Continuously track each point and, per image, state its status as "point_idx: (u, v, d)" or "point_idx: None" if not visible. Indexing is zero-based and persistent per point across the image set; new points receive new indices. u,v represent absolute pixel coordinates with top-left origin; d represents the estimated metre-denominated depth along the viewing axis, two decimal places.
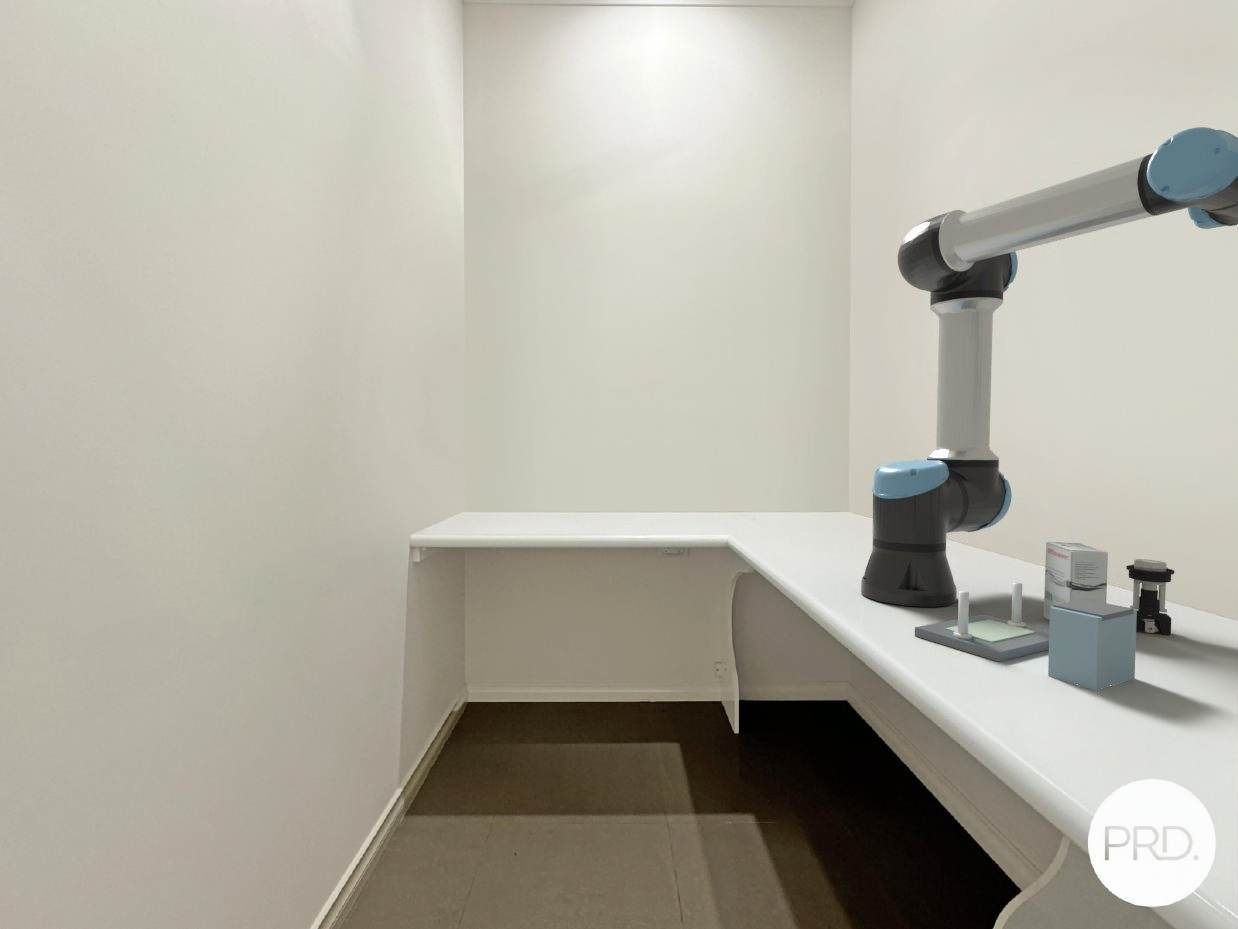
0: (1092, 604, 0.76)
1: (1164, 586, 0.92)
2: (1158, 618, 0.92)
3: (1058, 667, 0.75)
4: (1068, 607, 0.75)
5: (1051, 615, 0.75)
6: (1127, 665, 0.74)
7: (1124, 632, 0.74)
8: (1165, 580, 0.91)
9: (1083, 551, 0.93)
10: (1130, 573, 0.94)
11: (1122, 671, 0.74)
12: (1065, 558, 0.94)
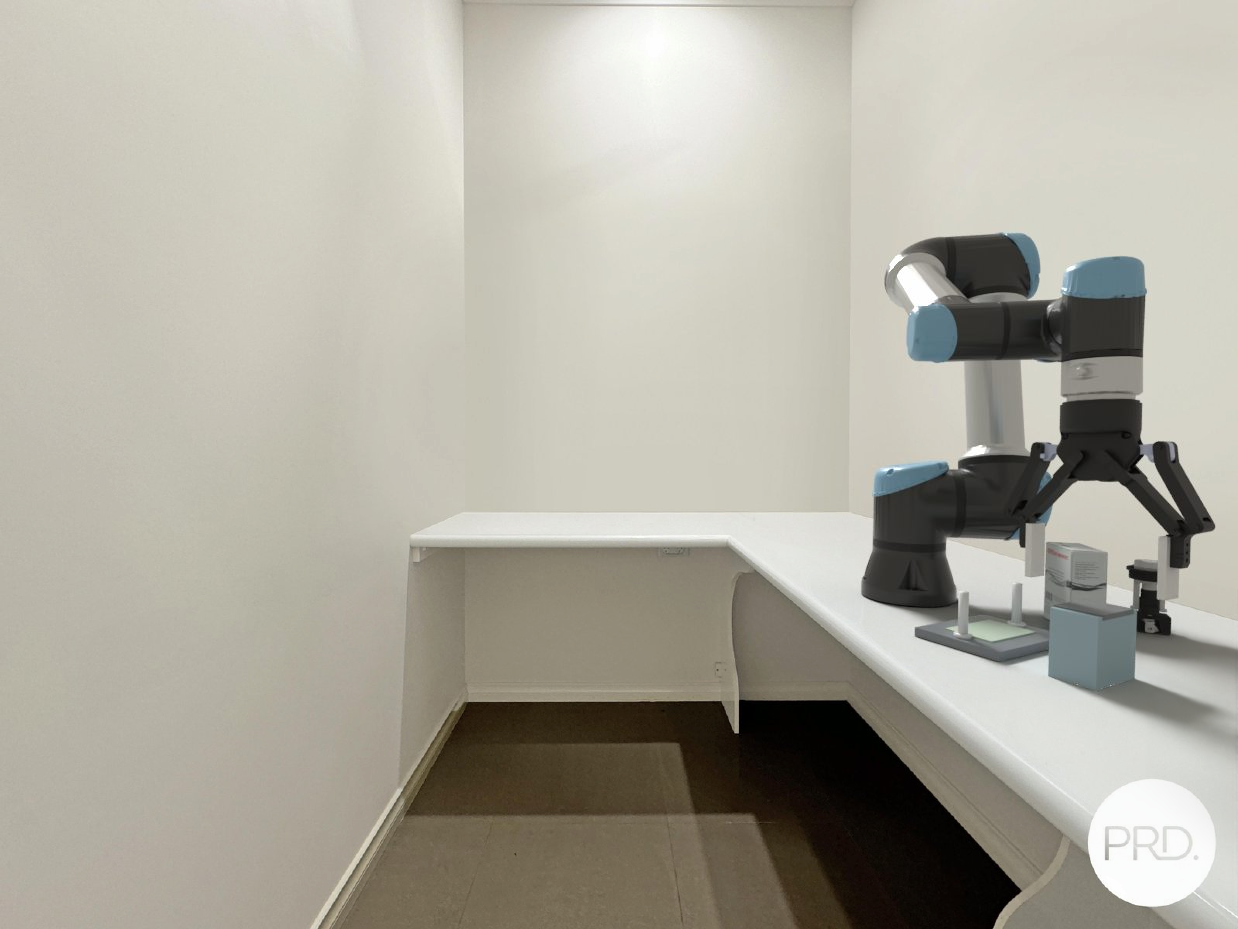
0: (1092, 604, 0.76)
1: None
2: (1158, 618, 0.92)
3: (1058, 667, 0.75)
4: (1068, 607, 0.75)
5: (1051, 615, 0.75)
6: (1127, 665, 0.74)
7: (1124, 632, 0.74)
8: None
9: (1083, 551, 0.93)
10: (1130, 573, 0.94)
11: (1122, 671, 0.74)
12: (1065, 558, 0.94)
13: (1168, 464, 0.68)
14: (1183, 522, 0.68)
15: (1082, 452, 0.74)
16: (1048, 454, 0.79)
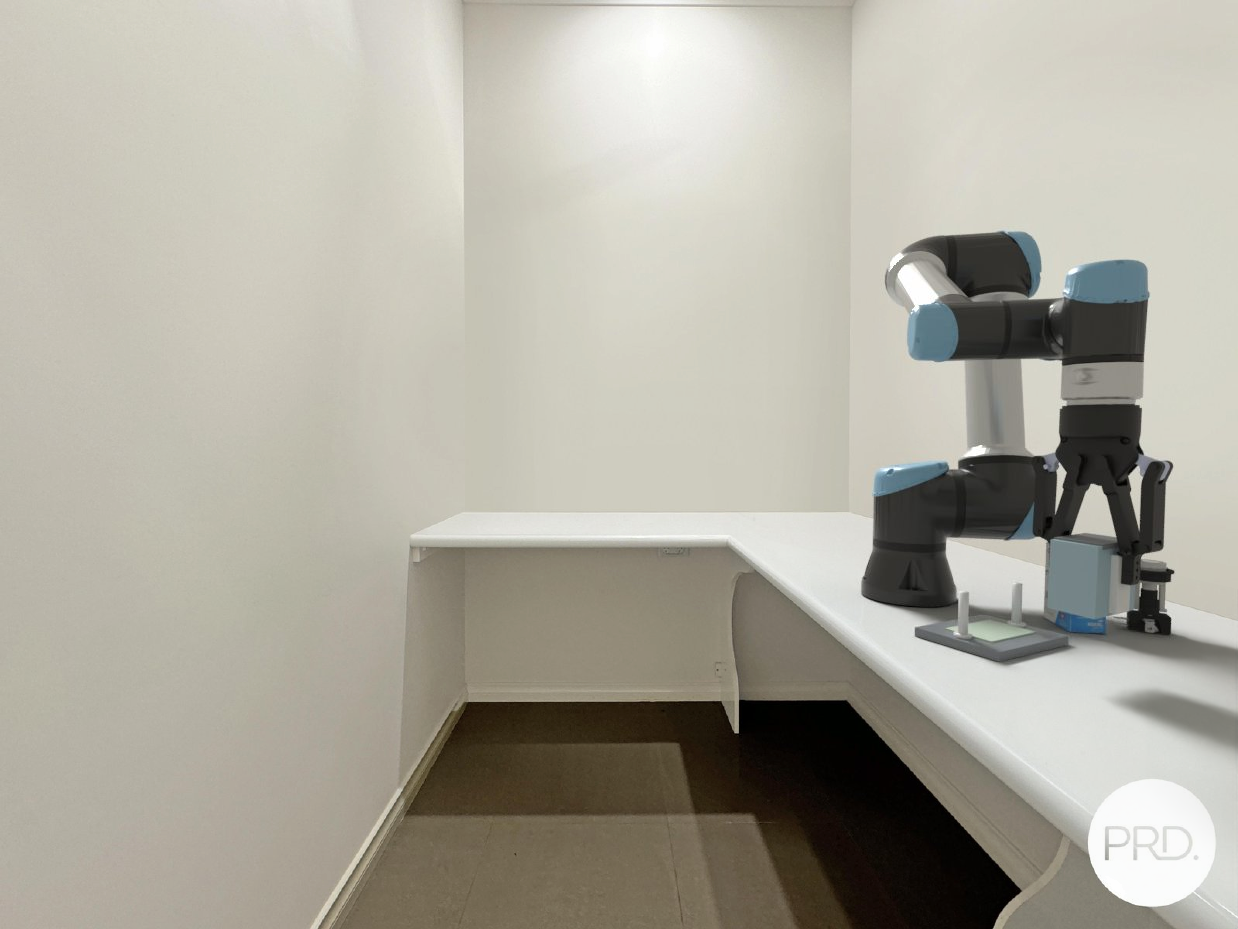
0: (1093, 536, 0.76)
1: (1164, 586, 0.92)
2: (1158, 618, 0.92)
3: (1057, 598, 0.75)
4: (1068, 538, 0.75)
5: (1051, 547, 0.76)
6: None
7: None
8: (1165, 580, 0.91)
9: None
10: None
11: None
12: None
13: (1153, 485, 0.69)
14: (1135, 541, 0.72)
15: (1079, 454, 0.75)
16: (1050, 464, 0.79)
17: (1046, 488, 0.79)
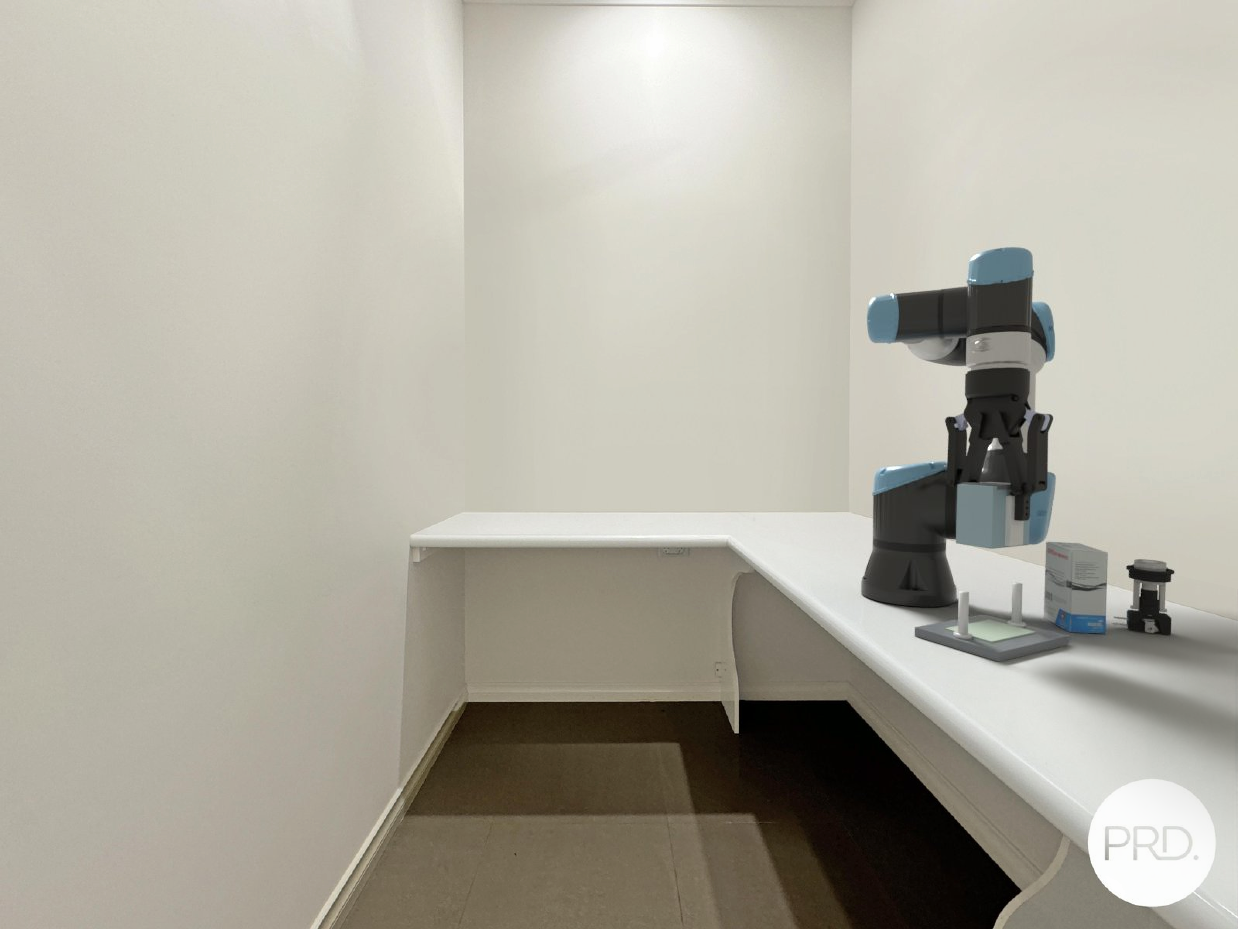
0: None
1: (1164, 586, 0.92)
2: (1158, 618, 0.92)
3: (963, 534, 0.88)
4: (972, 483, 0.88)
5: (958, 490, 0.89)
6: None
7: None
8: (1165, 580, 0.91)
9: (1083, 551, 0.93)
10: (1130, 573, 0.94)
11: None
12: (1065, 558, 0.94)
13: (1036, 434, 0.82)
14: (1025, 484, 0.85)
15: (981, 412, 0.88)
16: (960, 423, 0.92)
17: (957, 444, 0.92)
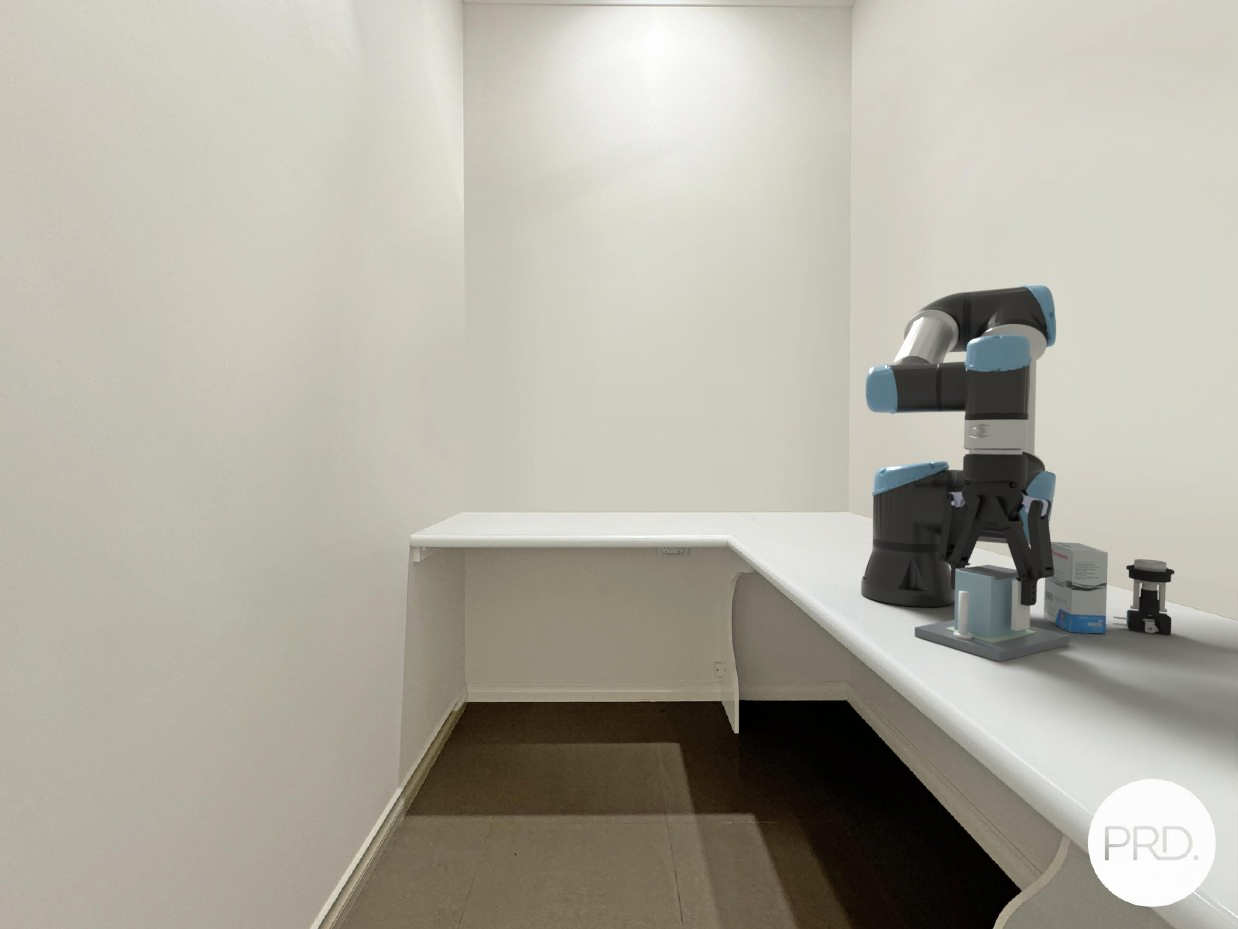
0: (992, 568, 0.90)
1: (1164, 586, 0.92)
2: (1158, 618, 0.92)
3: None
4: (970, 570, 0.89)
5: (956, 577, 0.89)
6: None
7: None
8: (1165, 580, 0.91)
9: (1083, 551, 0.93)
10: (1130, 573, 0.94)
11: None
12: (1065, 558, 0.94)
13: (1036, 520, 0.82)
14: (1032, 568, 0.85)
15: (979, 496, 0.89)
16: (957, 501, 0.93)
17: (952, 521, 0.93)
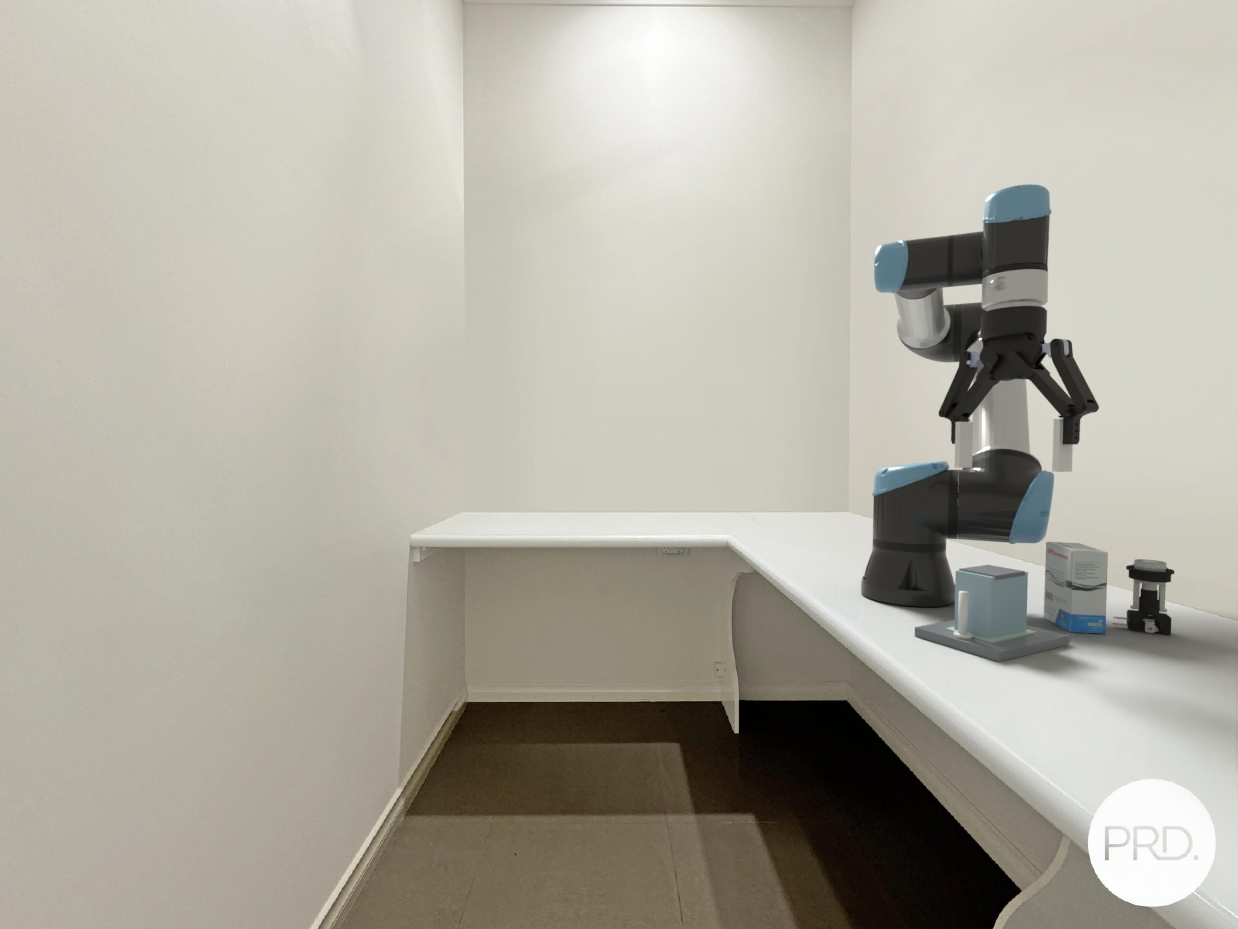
0: (992, 568, 0.90)
1: (1164, 586, 0.92)
2: (1158, 618, 0.92)
3: None
4: (970, 570, 0.89)
5: (956, 577, 0.89)
6: (1019, 619, 0.88)
7: (1016, 590, 0.88)
8: (1165, 580, 0.91)
9: (1083, 551, 0.93)
10: (1130, 573, 0.94)
11: (1014, 623, 0.88)
12: (1065, 558, 0.94)
13: (1061, 357, 0.80)
14: None
15: (998, 354, 0.87)
16: (973, 361, 0.92)
17: (962, 380, 0.93)
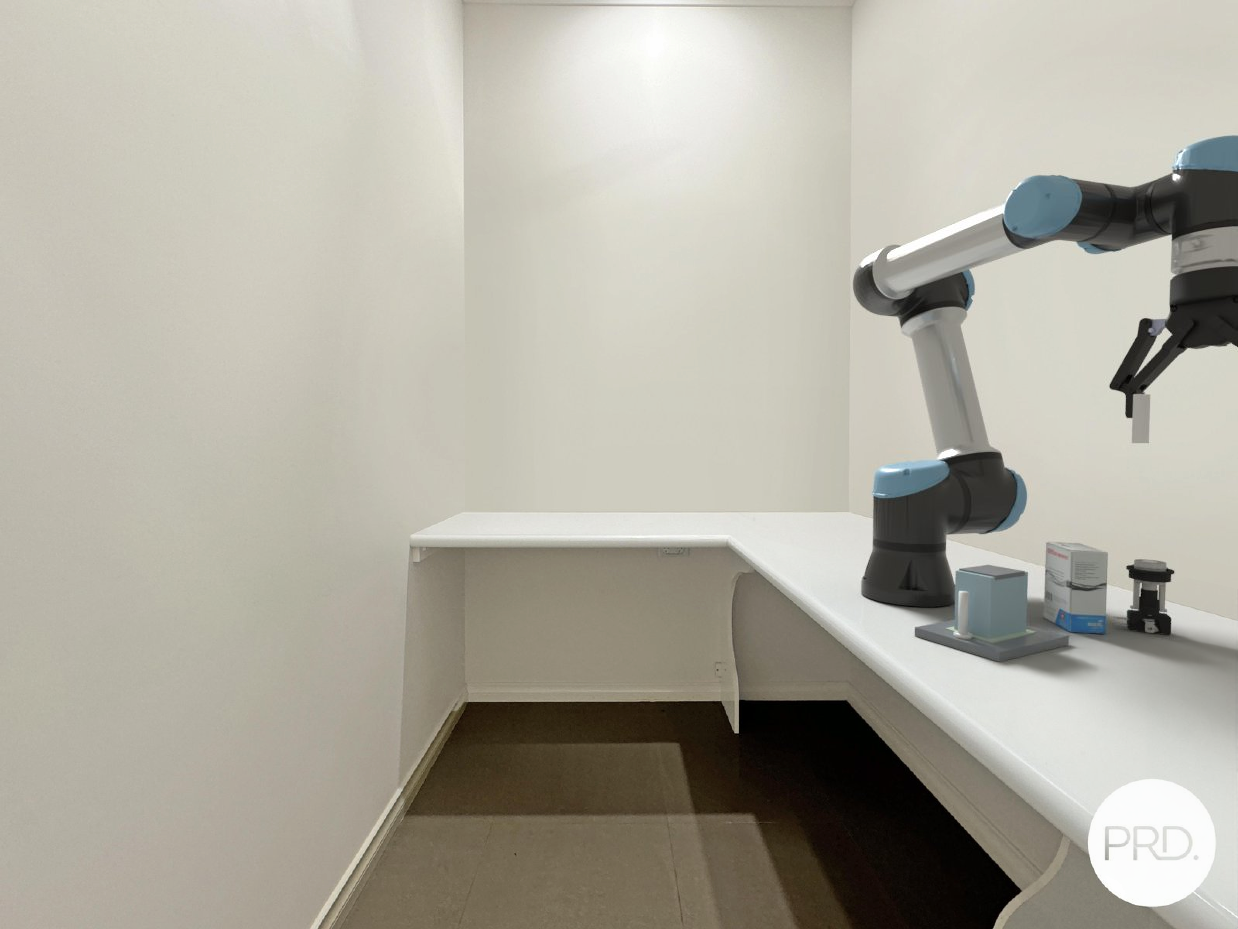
0: (992, 568, 0.90)
1: (1164, 586, 0.92)
2: (1158, 618, 0.92)
3: None
4: (970, 570, 0.89)
5: (956, 577, 0.89)
6: (1019, 619, 0.88)
7: (1016, 590, 0.88)
8: (1165, 580, 0.91)
9: (1083, 551, 0.93)
10: (1130, 573, 0.94)
11: (1014, 623, 0.88)
12: (1065, 558, 0.94)
13: None
14: None
15: (1193, 320, 0.81)
16: (1155, 328, 0.86)
17: (1141, 349, 0.87)
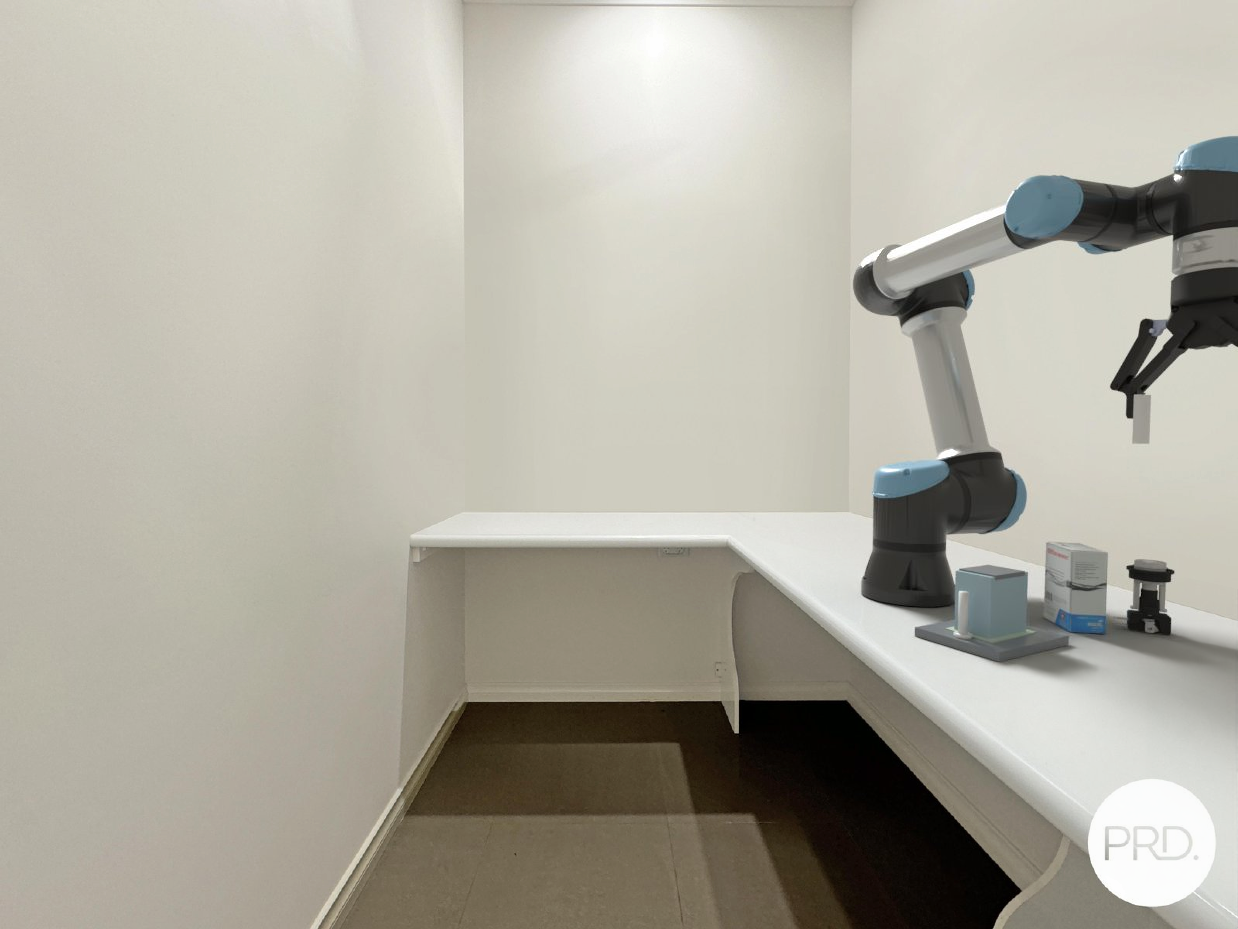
0: (992, 568, 0.90)
1: (1164, 586, 0.92)
2: (1158, 618, 0.92)
3: None
4: (970, 570, 0.89)
5: (956, 577, 0.89)
6: (1019, 619, 0.88)
7: (1016, 590, 0.88)
8: (1165, 580, 0.91)
9: (1083, 551, 0.93)
10: (1130, 573, 0.94)
11: (1014, 623, 0.88)
12: (1065, 558, 0.94)
13: None
14: None
15: (1194, 320, 0.81)
16: (1156, 329, 0.86)
17: (1142, 350, 0.87)
